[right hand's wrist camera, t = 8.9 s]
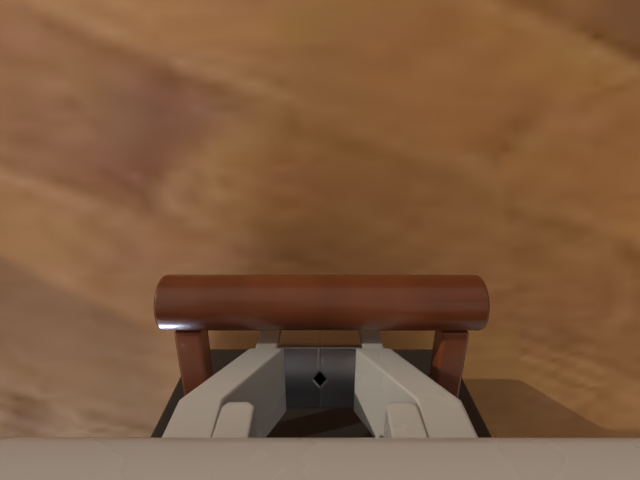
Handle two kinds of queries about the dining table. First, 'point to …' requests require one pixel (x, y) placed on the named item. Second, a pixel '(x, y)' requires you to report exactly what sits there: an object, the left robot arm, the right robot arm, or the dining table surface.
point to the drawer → (322, 314)
